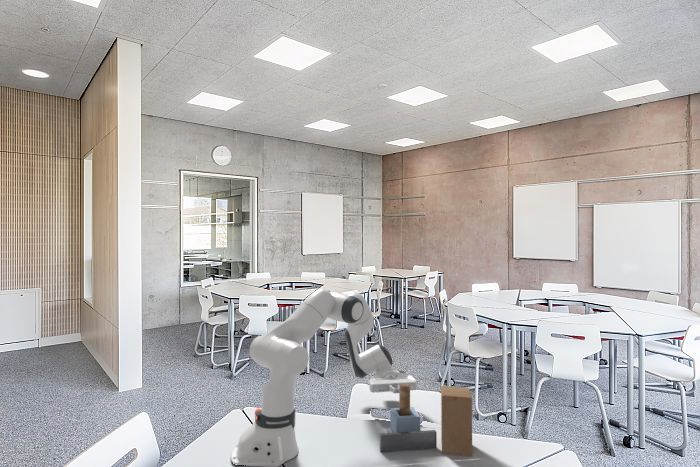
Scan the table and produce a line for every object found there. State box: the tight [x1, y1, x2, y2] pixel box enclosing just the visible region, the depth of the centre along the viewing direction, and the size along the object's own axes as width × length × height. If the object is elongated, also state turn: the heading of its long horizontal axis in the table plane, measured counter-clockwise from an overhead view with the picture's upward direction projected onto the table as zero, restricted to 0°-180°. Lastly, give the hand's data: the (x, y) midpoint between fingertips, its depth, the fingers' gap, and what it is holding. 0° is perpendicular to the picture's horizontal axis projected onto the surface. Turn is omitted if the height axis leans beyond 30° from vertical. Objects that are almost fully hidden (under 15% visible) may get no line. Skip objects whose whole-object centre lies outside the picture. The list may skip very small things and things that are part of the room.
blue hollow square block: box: [389, 406, 421, 433], centre depth 153 cm, size 9×9×8 cm
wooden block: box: [440, 385, 473, 457], centre depth 142 cm, size 10×10×20 cm
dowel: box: [398, 384, 411, 416], centre depth 153 cm, size 4×4×16 cm
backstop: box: [379, 427, 438, 454], centre depth 148 cm, size 20×16×6 cm
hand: (397, 391), depth 164 cm, fingers closed
